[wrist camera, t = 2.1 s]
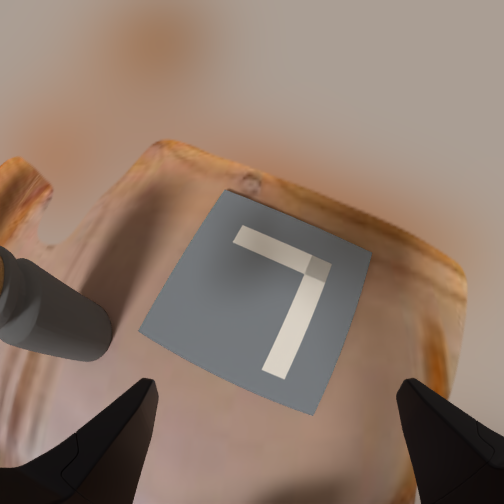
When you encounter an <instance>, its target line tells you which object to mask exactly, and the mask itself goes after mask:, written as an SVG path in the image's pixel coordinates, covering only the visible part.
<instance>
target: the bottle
mask: <svg viewBox="0 0 504 504" xmlns="http://www.w3.org/2000/svg"><path fill="white" fill-rule="evenodd" d="M111 336H112V327H111V322H110V320H109V317H108V315H107V314H106V312H105V311H104V310H103V309H102V308H101V307H100V306H99V305H97V304H96V303H95V302H93V301H91V300H90V299H88V298H86V297H85V296H83V295H81V294H80V293H78V292H77V291H75V290H74V289H72V288H70V287H69V286H67V285H66V284H64V283H63V282H61V281H60V280H58V279H57V278H55V277H54V276H52V275H51V274H49V273H48V272H46V271H45V270H43V269H42V268H40V267H39V266H37V265H36V264H34V263H33V262H32V261H30V260H28V259H24V258H20V259H16V258H15V257H14V256H13V254H12V253H11V252H9V251H8V250H7V249H5V248H4V247H2V246H0V339H1V340H2V341H3V342H5V343H7V344H9V345H12V346H16V347H19V348H22V349H26V350H30V351H34V352H38V353H42V354H47V355H51V356H56V357H61V358H66V359H71V360H77V361H85V362H90V361H94V360H97V359H99V358H100V357H101V356H102V355H103V354H104V353H105V352H106V350H107V349H108V347H109V344H110V341H111Z"/></svg>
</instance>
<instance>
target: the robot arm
mask: <svg viewBox="0 0 504 504" xmlns="http://www.w3.org/2000/svg"><path fill="white" fill-rule="evenodd" d="M158 398H159V396H158V391H157V388H156V384H155V381H154V380H153V379H148V378H142V379H140V380H139V381H138V382H137V383H136V384H134V385H133V386H132V387H131V388H130V389H128V390H127V391H126V392H125V393H124V394H122V395H121V396H120V397H119V398H117V399H116V400H115V401H114V402H113V403H111V404H110V405H109V406H108V407H106V408H105V409H104V410H103V411H101V412H100V413H99V414H98V415H96V416H95V417H94V418H93V419H91V420H90V421H89V422H88V423H86V424H85V425H84V426H83V427H81V428H80V429H79V430H78V431H77V432H76V433H74V434H72V435H71V436H70V437H69V438H67V439H66V440H64V441H63V442H62V443H60V444H59V445H57V446H56V447H54V448H53V449H51V450H49V451H48V452H46V453H44V454H43V455H41V456H39V457H37V458H35V459H34V460H32V461H30V462H28V463H26V464H24V465H22V466H19V467H14V468H0V504H132V503H133V500H134V496H135V492H136V489H137V485H138V482H139V478H140V475H141V471H142V468H143V464H144V461H145V457H146V454H147V451H148V447H149V444H150V441H151V437H152V433H153V427H154V421H155V416H156V410H157V405H158ZM396 400H397V404H398V409H399V414H400V420H401V425H402V430H403V433H404V437H405V440H406V444H407V447H408V451H409V455H410V458H411V462H412V466H413V470H414V474H415V478H416V482H417V486H418V491H419V495H420V500H421V504H504V437H503V436H501V435H500V434H498V433H496V432H494V431H492V430H491V429H489V428H487V427H486V426H484V425H483V424H481V423H480V422H478V421H476V420H475V419H474V418H472V417H471V416H469V415H468V414H466V413H465V412H463V411H462V410H461V409H459V408H458V407H456V406H454V405H453V404H452V403H450V402H449V401H447V400H446V399H444V398H443V397H442V396H440V395H439V394H437V393H436V392H434V391H433V390H431V389H430V388H428V387H427V386H426V385H424V384H423V383H421V382H420V381H418V380H417V379H415V378H409V379H405V380H404V381H403V383H402V385H401V387H400V389H399V390H398V392H397V395H396Z"/></svg>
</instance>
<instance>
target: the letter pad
mask: <svg viewBox="0 0 504 504" xmlns="http://www.w3.org/2000/svg"><path fill="white" fill-rule="evenodd" d="M371 256H372V252H369V251H367V250H365V249H363V248H361V247H359V246H357V245H355V244H352V243H350V242H348V241H346V240H344V239H341V238H339V237H337V236H335V235H333V234H330V233H328V232H326V231H324V230H321V229H319V228H317V227H315V226H312V225H310V224H308V223H305V222H303V221H301V220H298V219H296V218H294V217H291V216H289V215H287V214H284V213H282V212H279V211H277V210H275V209H272V208H270V207H267V206H265V205H262V204H260V203H258V202H255V201H253V200H250V199H248V198H245V197H242V196H240V195H237V194H235V193H232V192H230V191H227V190H224V191H223V193H222V194H221V196H220V197H219V199H218V200H217V202H216V203H215V205H214V206H213V208H212V209H211V211H210V212H209V214H208V216H207V217H206V219H205V220H204V222H203V223H202V225H201V226H200V228H199V229H198V231H197V233H196V234H195V236H194V237H193V239H192V240H191V242H190V244H189V245H188V247H187V248H186V250H185V252H184V253H183V255H182V257H181V258H180V260H179V261H178V263H177V265H176V266H175V268H174V270H173V271H172V273H171V275H170V276H169V278H168V280H167V281H166V283H165V285H164V286H163V288H162V290H161V292H160V293H159V295H158V297H157V298H156V300H155V302H154V304H153V305H152V307H151V309H150V311H149V312H148V314H147V316H146V318H145V320H144V321H143V323H142V325H141V327H140V329H139V330H138V331H139V332H140V333H142V334H143V335H145V336H147V337H148V338H150V339H151V340H153V341H155V342H156V343H158V344H160V345H161V346H163V347H165V348H166V349H168V350H170V351H172V352H173V353H175V354H177V355H179V356H180V357H182V358H184V359H186V360H188V361H189V362H191V363H193V364H195V365H197V366H199V367H201V368H203V369H205V370H206V371H208V372H210V373H212V374H214V375H216V376H218V377H220V378H222V379H225V380H227V381H229V382H231V383H233V384H235V385H237V386H239V387H242V388H244V389H246V390H248V391H251V392H253V393H255V394H257V395H260V396H262V397H264V398H267V399H269V400H272V401H274V402H277V403H279V404H282V405H284V406H287V407H290V408H292V409H295V410H298V411H300V412H303V413H306V414H309V415H312V416H313V415H314V413H315V411H316V409H317V406H318V404H319V402H320V400H321V398H322V395H323V393H324V391H325V389H326V386H327V384H328V382H329V379H330V377H331V375H332V372H333V370H334V367H335V365H336V362H337V360H338V357H339V355H340V352H341V350H342V347H343V344H344V342H345V339H346V336H347V333H348V331H349V328H350V325H351V322H352V319H353V316H354V313H355V310H356V307H357V304H358V301H359V298H360V294H361V291H362V288H363V284H364V281H365V278H366V274H367V270H368V267H369V263H370V259H371Z"/></svg>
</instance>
